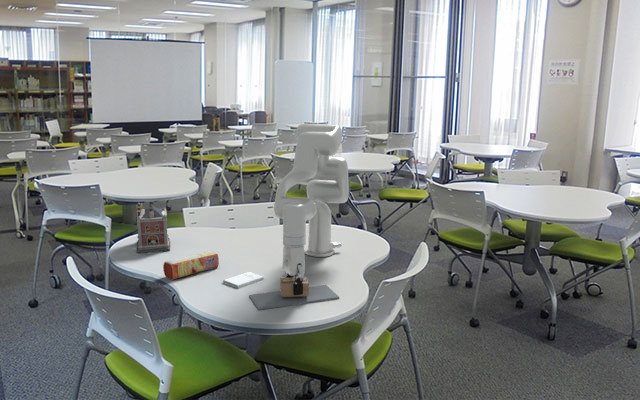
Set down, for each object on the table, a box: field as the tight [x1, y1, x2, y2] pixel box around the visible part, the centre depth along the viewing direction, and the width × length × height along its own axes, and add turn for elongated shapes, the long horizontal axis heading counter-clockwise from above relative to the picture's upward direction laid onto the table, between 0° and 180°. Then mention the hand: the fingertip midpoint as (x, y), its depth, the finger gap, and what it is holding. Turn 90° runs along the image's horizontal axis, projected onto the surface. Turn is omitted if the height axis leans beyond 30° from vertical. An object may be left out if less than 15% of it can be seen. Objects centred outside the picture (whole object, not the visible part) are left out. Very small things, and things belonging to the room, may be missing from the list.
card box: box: [279, 276, 310, 297], centre depth 186 cm, size 6×9×5 cm, turn 98°
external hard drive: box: [222, 271, 265, 289], centre depth 202 cm, size 2×8×12 cm
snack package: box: [162, 250, 220, 281], centre depth 209 cm, size 21×7×7 cm, turn 136°
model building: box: [135, 201, 171, 254], centre depth 240 cm, size 19×14×20 cm
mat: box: [249, 284, 340, 311], centre depth 187 cm, size 28×12×1 cm, turn 111°
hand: (294, 290), depth 186 cm, fingers closed on card box, 6 cm apart
